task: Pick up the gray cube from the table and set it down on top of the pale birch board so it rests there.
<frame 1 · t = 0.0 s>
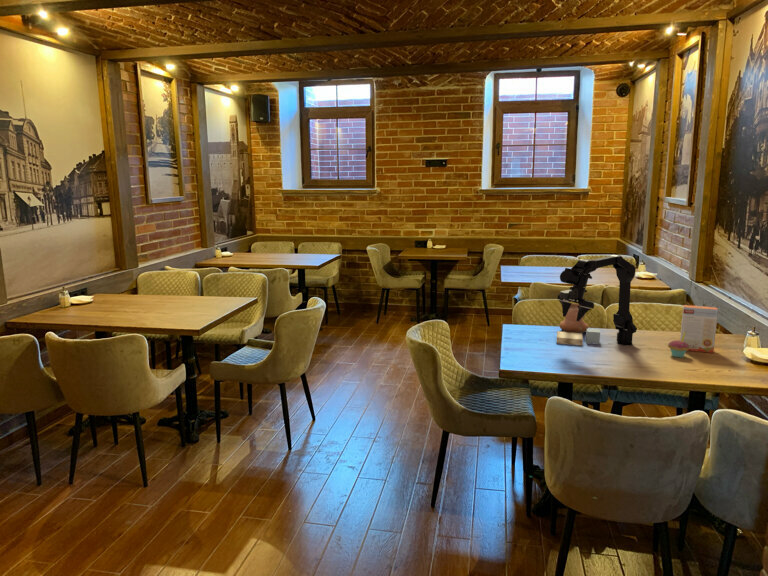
hand: (570, 318, 259), 15 cm above the table, tool pointing down, fingers open, 9 cm apart
cracker box: (695, 350, 263), on the table
cupcake: (677, 356, 254), on the table
ceramic jug: (572, 331, 296), on the table
birch board: (569, 341, 278), on the table
gray cube: (592, 342, 276), on the table
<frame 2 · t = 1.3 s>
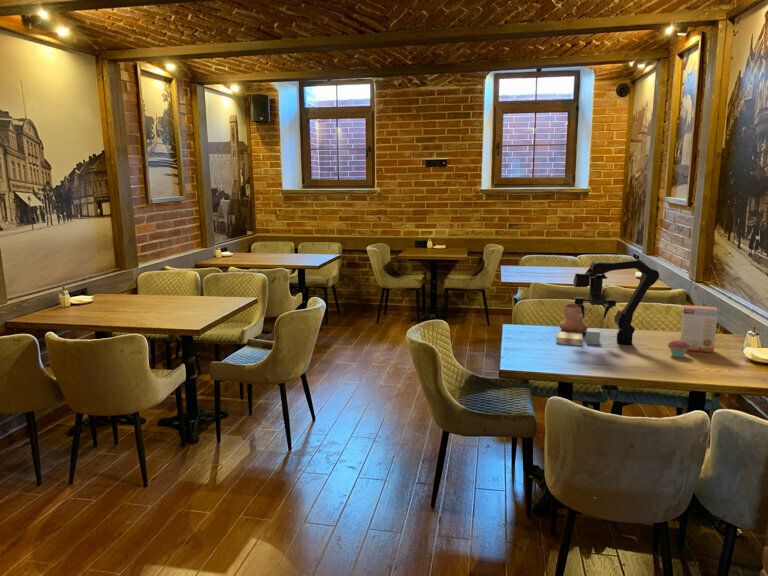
hand: (593, 318, 274), 12 cm above the table, tool pointing down, fingers open, 9 cm apart
nothing on the table moved.
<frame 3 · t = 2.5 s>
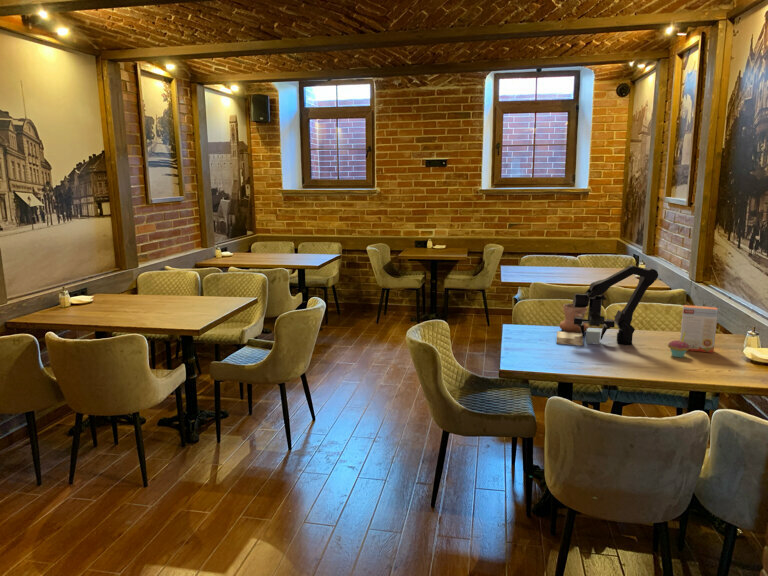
hand: (592, 338, 276), 2 cm above the table, tool pointing down, fingers open, 8 cm apart
nothing on the table moved.
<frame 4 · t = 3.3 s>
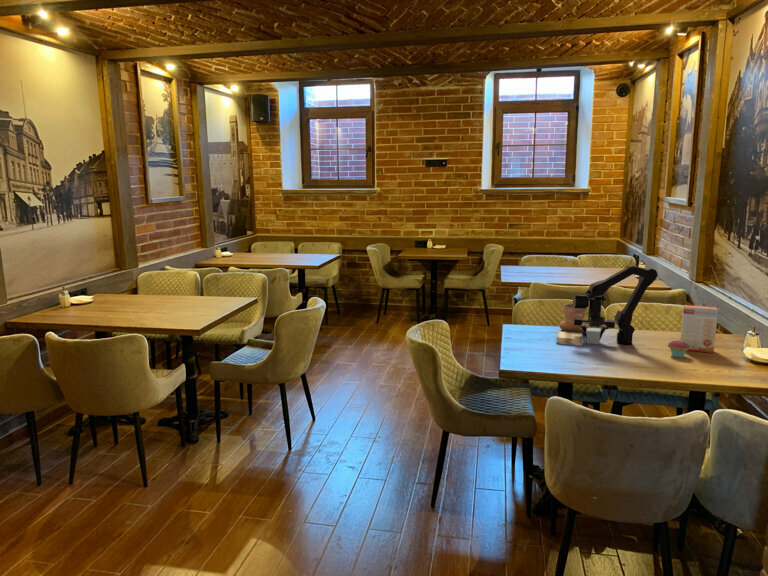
hand: (592, 339, 276), 1 cm above the table, tool pointing down, fingers closed on gray cube, 6 cm apart
gray cube: (592, 341, 276), on the table, touching gripper
everything else where it was.
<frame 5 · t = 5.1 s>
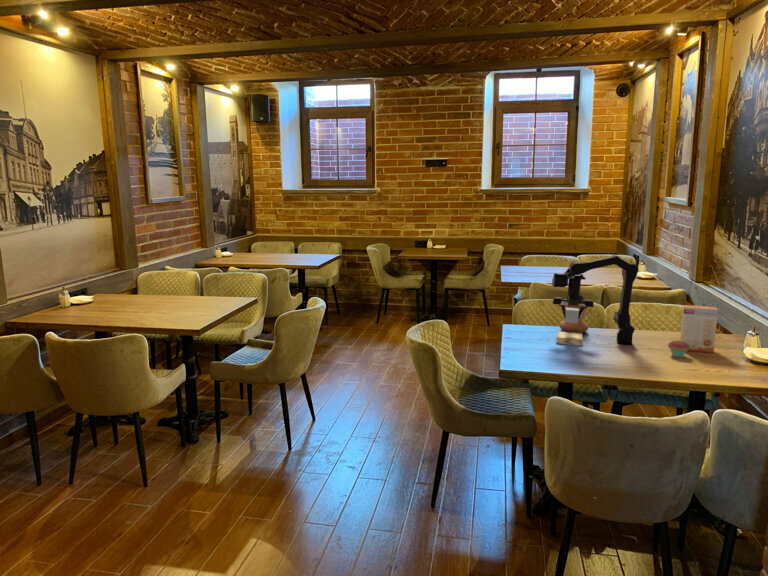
hand: (571, 318, 275), 11 cm above the table, tool pointing down, fingers closed on gray cube, 6 cm apart
gray cube: (571, 321, 276), point 10 cm above the table, touching gripper
everything else where it was.
when the fingers open (6 cm above the table, at t = 6.9 s): gray cube drops 2 cm, resting on birch board.
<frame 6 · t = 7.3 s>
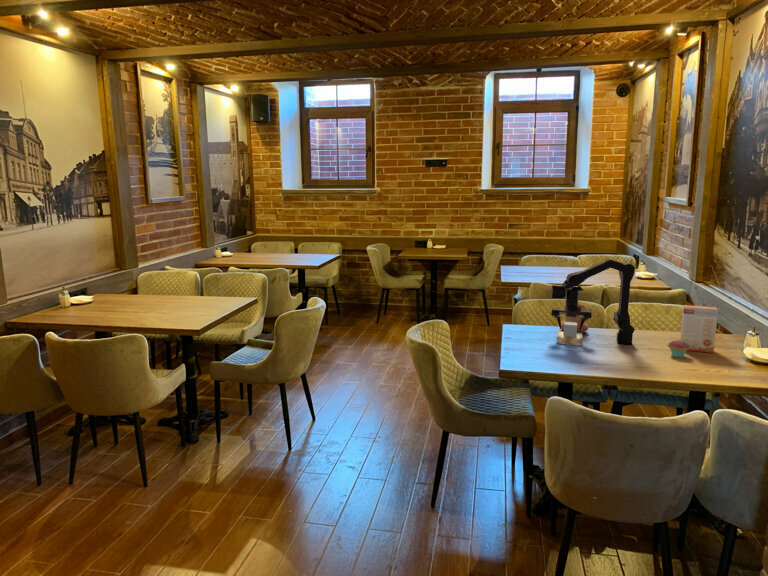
hand: (570, 329, 276), 6 cm above the table, tool pointing down, fingers open, 9 cm apart
gray cube: (569, 335, 277), point 3 cm above the table, touching birch board
everything else where it was.
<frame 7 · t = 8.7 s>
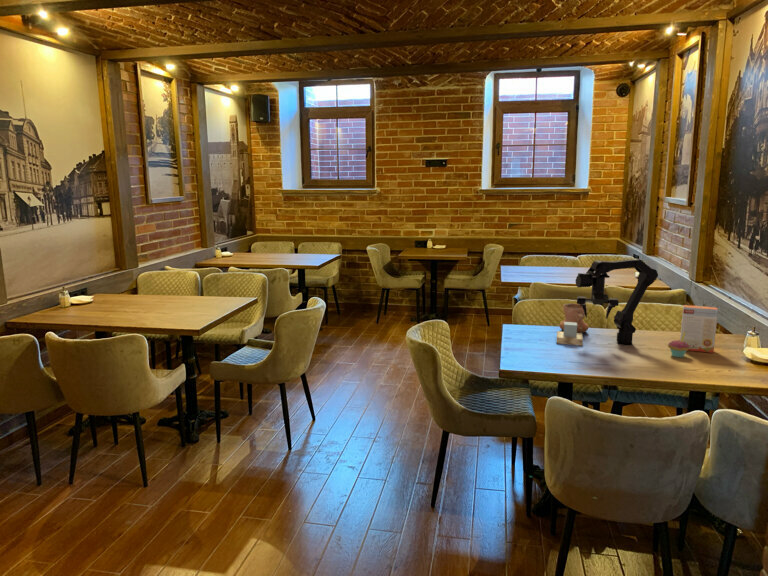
hand: (596, 318, 271), 13 cm above the table, tool pointing down, fingers open, 9 cm apart
nothing on the table moved.
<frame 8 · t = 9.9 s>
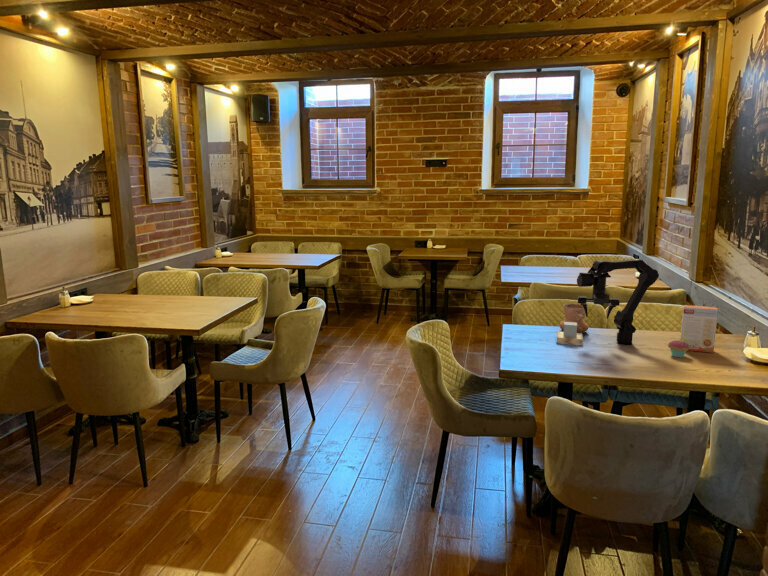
hand: (596, 318, 271), 13 cm above the table, tool pointing down, fingers open, 9 cm apart
nothing on the table moved.
at the end: gray cube inside the target area on the birch board (0.1 cm from its centre), point 3.0 cm above the birch board's base; gray cube tilted 0°; the gripper is holding nothing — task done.
